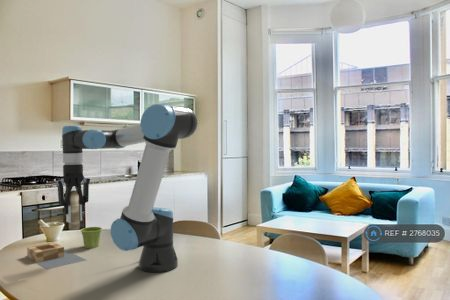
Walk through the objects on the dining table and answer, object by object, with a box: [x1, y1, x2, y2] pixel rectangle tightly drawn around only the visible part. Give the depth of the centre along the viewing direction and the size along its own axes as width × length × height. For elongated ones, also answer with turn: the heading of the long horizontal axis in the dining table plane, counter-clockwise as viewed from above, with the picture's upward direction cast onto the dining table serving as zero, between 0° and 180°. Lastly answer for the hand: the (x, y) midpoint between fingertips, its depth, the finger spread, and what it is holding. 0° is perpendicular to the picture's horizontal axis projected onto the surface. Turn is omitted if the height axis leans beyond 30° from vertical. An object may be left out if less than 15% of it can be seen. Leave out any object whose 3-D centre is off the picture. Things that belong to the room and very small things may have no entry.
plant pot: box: [80, 226, 103, 249], centre depth 178 cm, size 9×9×9 cm
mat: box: [24, 249, 87, 270], centre depth 160 cm, size 24×16×1 cm, turn 46°
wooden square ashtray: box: [26, 241, 65, 263], centre depth 162 cm, size 11×11×4 cm
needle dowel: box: [68, 189, 81, 230], centre depth 156 cm, size 4×4×16 cm
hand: (74, 221), depth 156 cm, fingers closed on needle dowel, 4 cm apart
